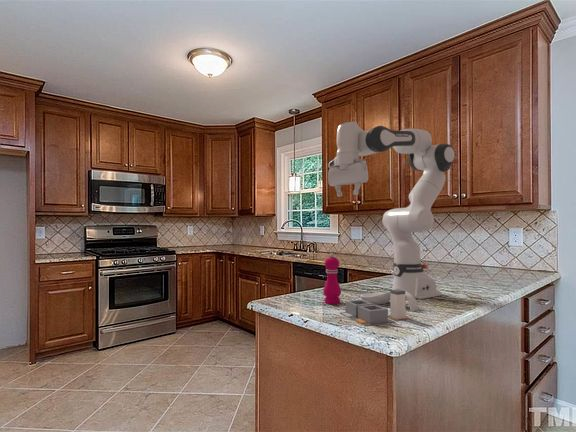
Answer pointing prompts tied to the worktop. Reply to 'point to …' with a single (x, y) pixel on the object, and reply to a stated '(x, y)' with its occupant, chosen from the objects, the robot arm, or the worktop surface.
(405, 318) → the deck
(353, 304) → the port box
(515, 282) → the worktop surface
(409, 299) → the grey curved arch
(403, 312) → the plug
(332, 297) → the pepper mill
